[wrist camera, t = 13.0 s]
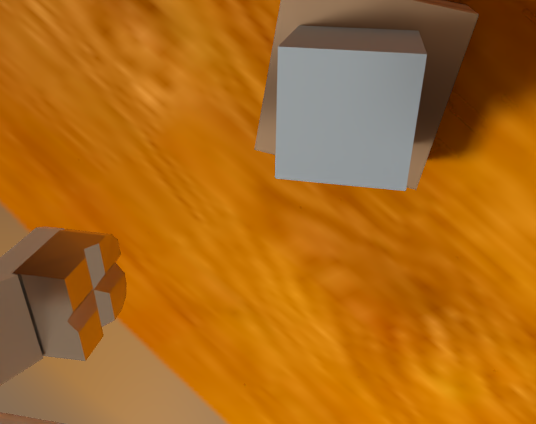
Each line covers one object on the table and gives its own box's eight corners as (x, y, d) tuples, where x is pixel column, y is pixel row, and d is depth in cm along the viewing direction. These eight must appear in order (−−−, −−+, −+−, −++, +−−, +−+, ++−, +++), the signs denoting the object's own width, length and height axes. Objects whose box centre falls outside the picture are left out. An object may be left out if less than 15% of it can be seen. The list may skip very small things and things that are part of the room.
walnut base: (299, -32, 25) (285, -27, 21) (465, 3, 24) (479, 14, 21) (270, 124, 29) (254, 149, 25) (412, 158, 28) (416, 189, 25)
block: (299, 25, 22) (278, 46, 18) (418, 30, 21) (427, 54, 17) (294, 135, 24) (274, 178, 20) (402, 144, 24) (405, 190, 19)
